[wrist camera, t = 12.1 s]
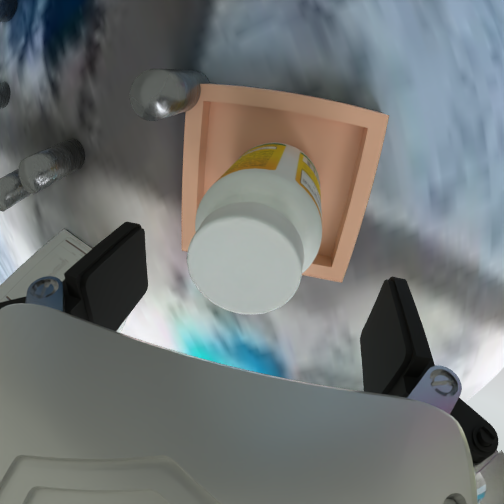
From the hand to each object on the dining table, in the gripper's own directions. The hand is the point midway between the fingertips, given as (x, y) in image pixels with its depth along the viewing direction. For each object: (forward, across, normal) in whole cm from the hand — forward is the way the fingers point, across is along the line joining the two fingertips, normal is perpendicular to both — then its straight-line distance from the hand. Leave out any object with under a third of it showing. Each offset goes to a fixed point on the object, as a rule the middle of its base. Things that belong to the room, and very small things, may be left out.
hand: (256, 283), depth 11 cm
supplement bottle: (+9, +1, -1) cm, 9 cm away
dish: (+9, +1, -1) cm, 10 cm away
